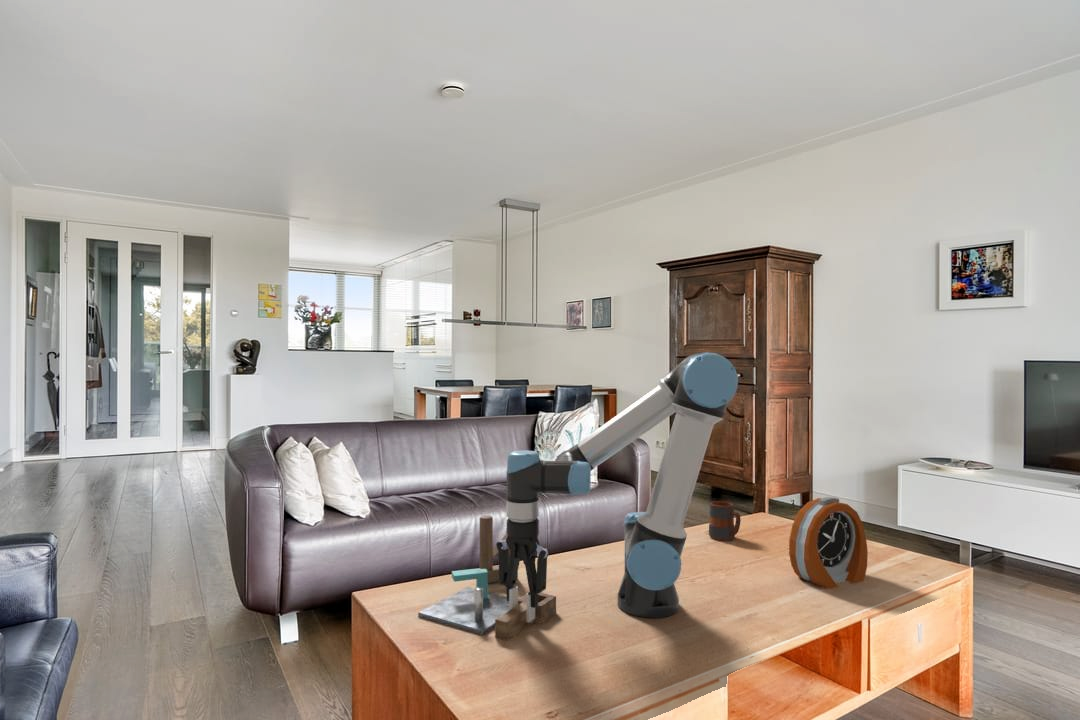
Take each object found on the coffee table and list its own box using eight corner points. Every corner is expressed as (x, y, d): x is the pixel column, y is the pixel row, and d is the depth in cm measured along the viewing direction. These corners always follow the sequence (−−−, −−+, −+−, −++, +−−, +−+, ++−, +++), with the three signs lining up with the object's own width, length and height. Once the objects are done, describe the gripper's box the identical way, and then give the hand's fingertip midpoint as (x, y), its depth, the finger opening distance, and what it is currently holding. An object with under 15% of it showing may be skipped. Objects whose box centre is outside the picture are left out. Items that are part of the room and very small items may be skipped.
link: (531, 606, 155) (531, 590, 154) (556, 612, 151) (556, 596, 151) (487, 635, 139) (487, 617, 139) (514, 642, 135) (514, 624, 135)
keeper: (488, 602, 157) (488, 572, 157) (454, 606, 154) (454, 576, 154) (485, 596, 161) (485, 567, 161) (451, 601, 158) (451, 571, 158)
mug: (731, 545, 204) (731, 510, 204) (703, 536, 214) (703, 502, 214) (748, 541, 209) (748, 506, 209) (720, 532, 219) (720, 499, 219)
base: (528, 605, 155) (528, 573, 155) (482, 635, 139) (482, 599, 139) (467, 590, 165) (467, 560, 165) (418, 616, 149) (418, 583, 148)
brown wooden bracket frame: (518, 579, 173) (518, 515, 173) (481, 585, 169) (481, 519, 169) (513, 575, 176) (513, 511, 176) (477, 580, 172) (477, 515, 172)
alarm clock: (816, 591, 165) (816, 506, 165) (787, 579, 174) (788, 498, 174) (874, 579, 174) (874, 498, 174) (844, 568, 183) (844, 491, 183)
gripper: (562, 519, 144) (562, 620, 144) (501, 509, 153) (501, 604, 153) (546, 527, 137) (545, 632, 138) (483, 516, 146) (482, 615, 146)
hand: (522, 617), depth 145 cm, fingers open, 4 cm apart
